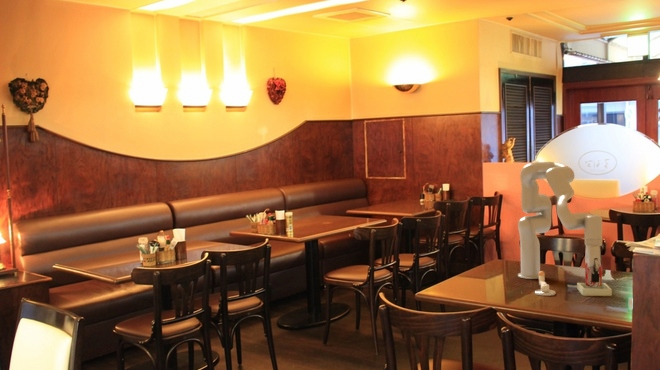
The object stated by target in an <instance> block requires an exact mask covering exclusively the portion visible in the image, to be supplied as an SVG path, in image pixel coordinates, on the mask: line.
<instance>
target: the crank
mask: <svg viewBox="0 0 660 370" xmlns="http://www.w3.org/2000/svg"><path fill="white" fill-rule="evenodd" d="M538 275H539V279H538V285H539V286H540V289H541V291H542V292H549V290H550V284H547V282H546V281H545V280H546V279H545V276H546V272H545V271H544V270H540V272H539V273H538Z"/></svg>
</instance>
